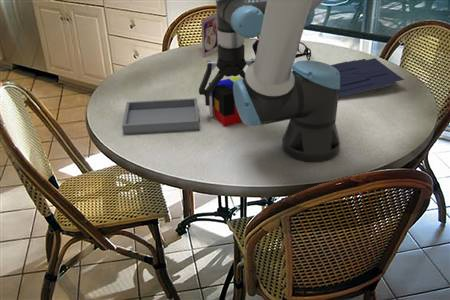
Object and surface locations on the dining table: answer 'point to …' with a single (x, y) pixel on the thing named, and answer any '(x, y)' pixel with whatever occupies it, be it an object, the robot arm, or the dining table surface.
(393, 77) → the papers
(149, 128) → the tray
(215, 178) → the dining table surface
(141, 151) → the dining table surface
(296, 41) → the robot arm
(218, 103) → the puzzle toy
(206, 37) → the greeting card
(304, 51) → the glasses
